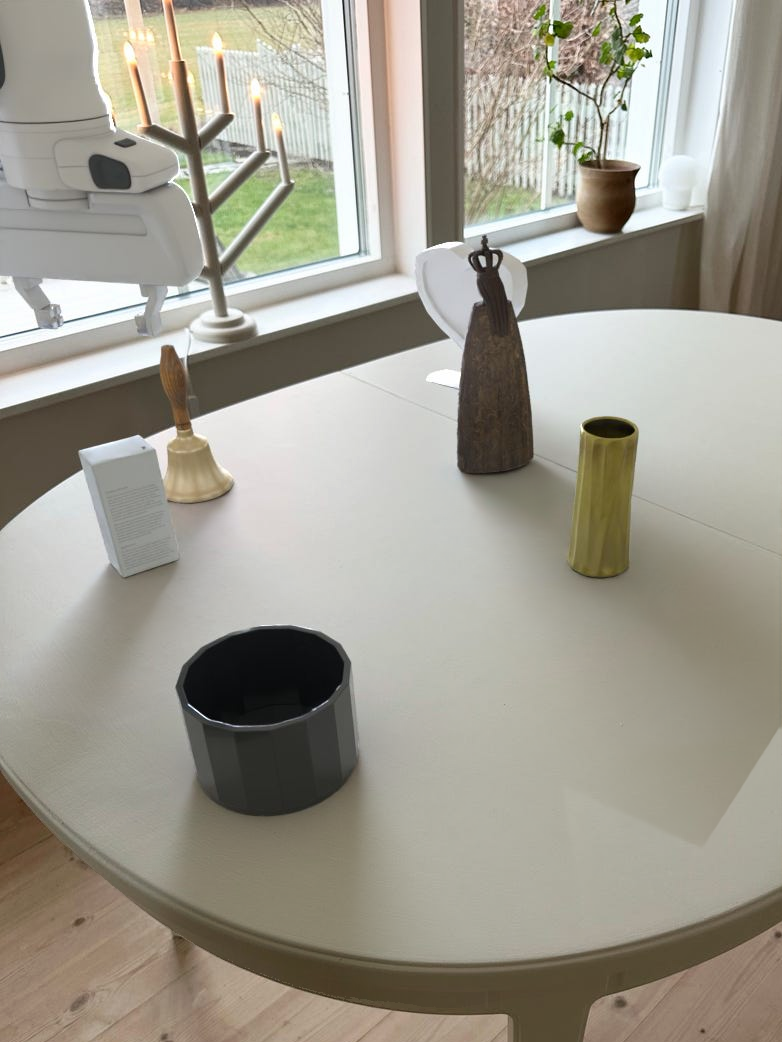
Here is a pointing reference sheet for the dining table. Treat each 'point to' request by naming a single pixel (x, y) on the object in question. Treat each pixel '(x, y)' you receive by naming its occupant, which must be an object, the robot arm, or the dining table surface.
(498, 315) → the statue
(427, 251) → the heart sculpture
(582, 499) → the vase
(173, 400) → the hand bell
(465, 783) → the dining table surface
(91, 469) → the cosmetic box
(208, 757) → the holder pot
